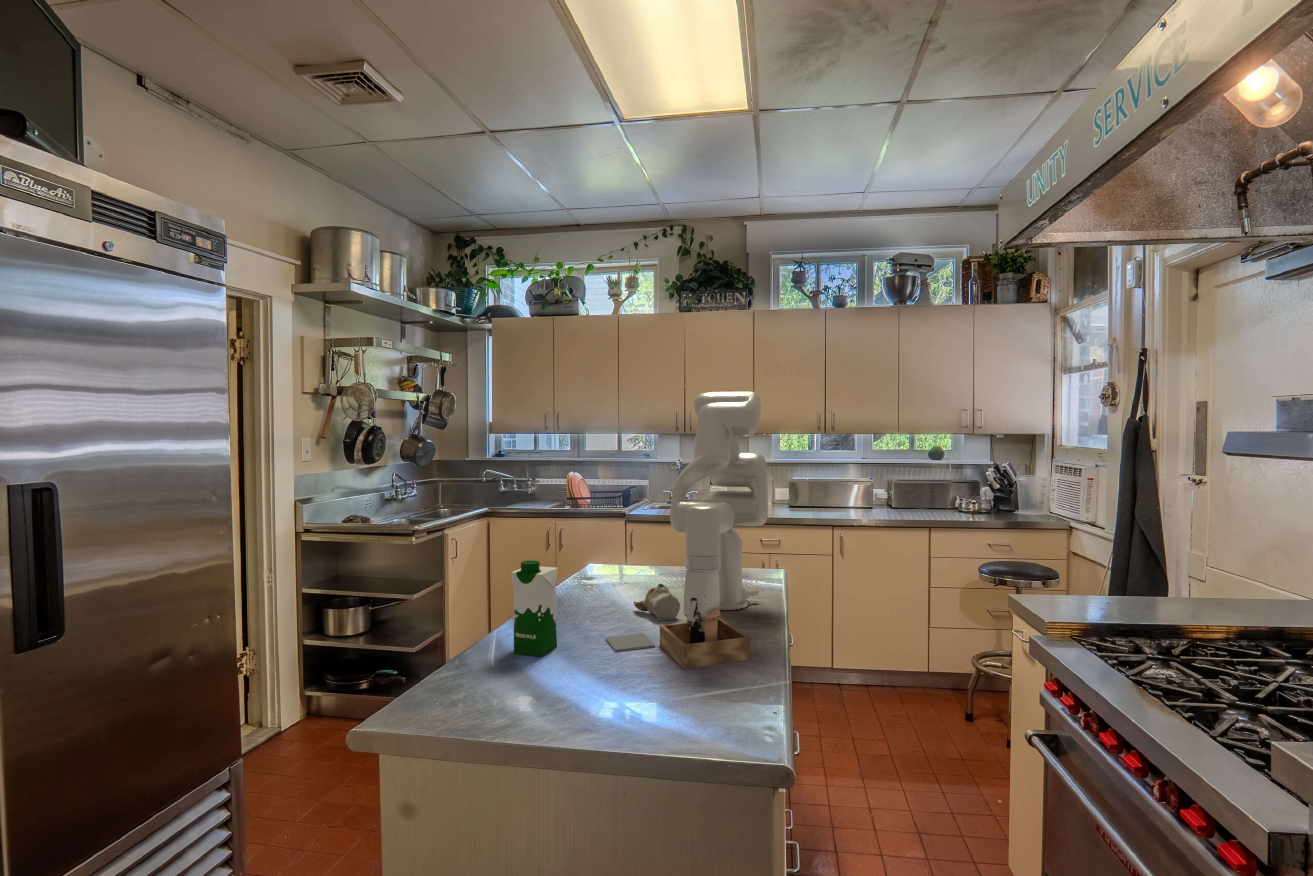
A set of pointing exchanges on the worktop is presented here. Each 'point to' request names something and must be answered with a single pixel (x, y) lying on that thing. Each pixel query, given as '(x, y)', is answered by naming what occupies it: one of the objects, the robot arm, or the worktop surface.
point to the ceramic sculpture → (660, 603)
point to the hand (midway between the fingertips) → (703, 644)
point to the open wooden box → (705, 645)
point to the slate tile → (629, 642)
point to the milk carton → (534, 609)
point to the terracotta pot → (710, 625)
